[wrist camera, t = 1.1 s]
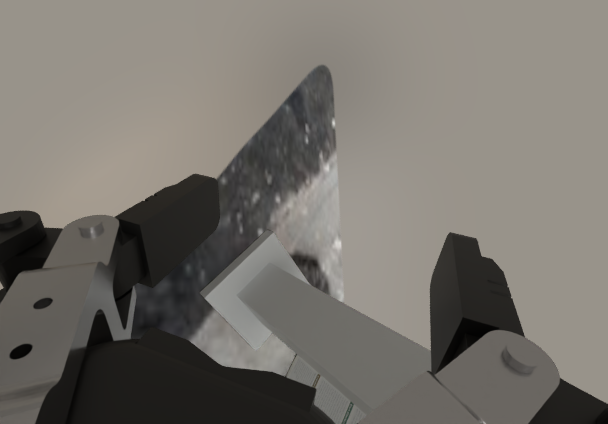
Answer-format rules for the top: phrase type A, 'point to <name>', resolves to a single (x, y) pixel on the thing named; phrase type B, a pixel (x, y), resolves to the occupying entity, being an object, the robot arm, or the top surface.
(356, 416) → the syrup box
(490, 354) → the robot arm
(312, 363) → the stand
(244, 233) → the top surface
